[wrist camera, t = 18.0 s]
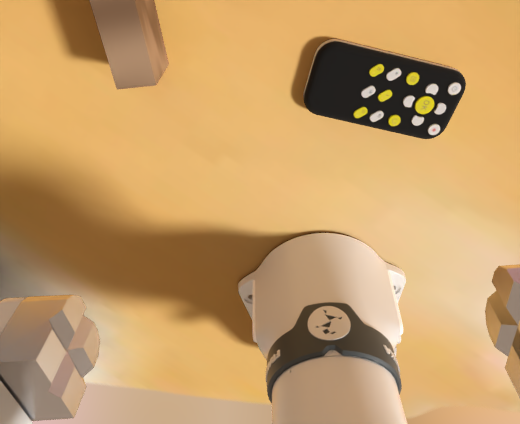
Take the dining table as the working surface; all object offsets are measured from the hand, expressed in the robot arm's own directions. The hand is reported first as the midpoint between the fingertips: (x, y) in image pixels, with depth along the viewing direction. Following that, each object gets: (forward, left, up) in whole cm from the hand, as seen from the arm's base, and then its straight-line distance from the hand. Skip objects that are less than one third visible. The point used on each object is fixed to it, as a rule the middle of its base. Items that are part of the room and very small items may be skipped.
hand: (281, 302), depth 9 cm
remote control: (-8, -8, -31) cm, 33 cm away
